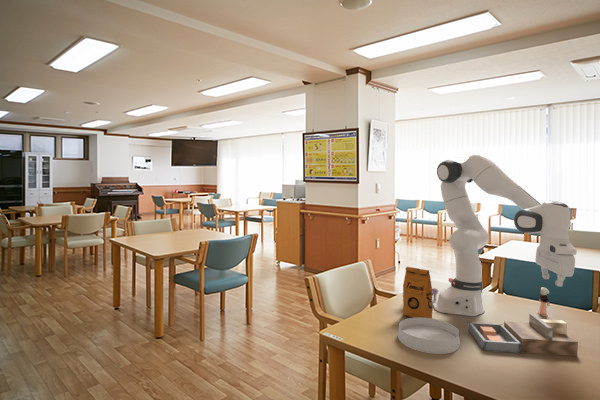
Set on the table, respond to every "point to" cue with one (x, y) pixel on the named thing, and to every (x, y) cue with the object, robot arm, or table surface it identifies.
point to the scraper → (548, 326)
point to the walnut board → (541, 340)
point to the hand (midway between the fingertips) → (552, 282)
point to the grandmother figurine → (543, 302)
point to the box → (506, 345)
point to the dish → (429, 335)
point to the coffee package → (417, 293)
